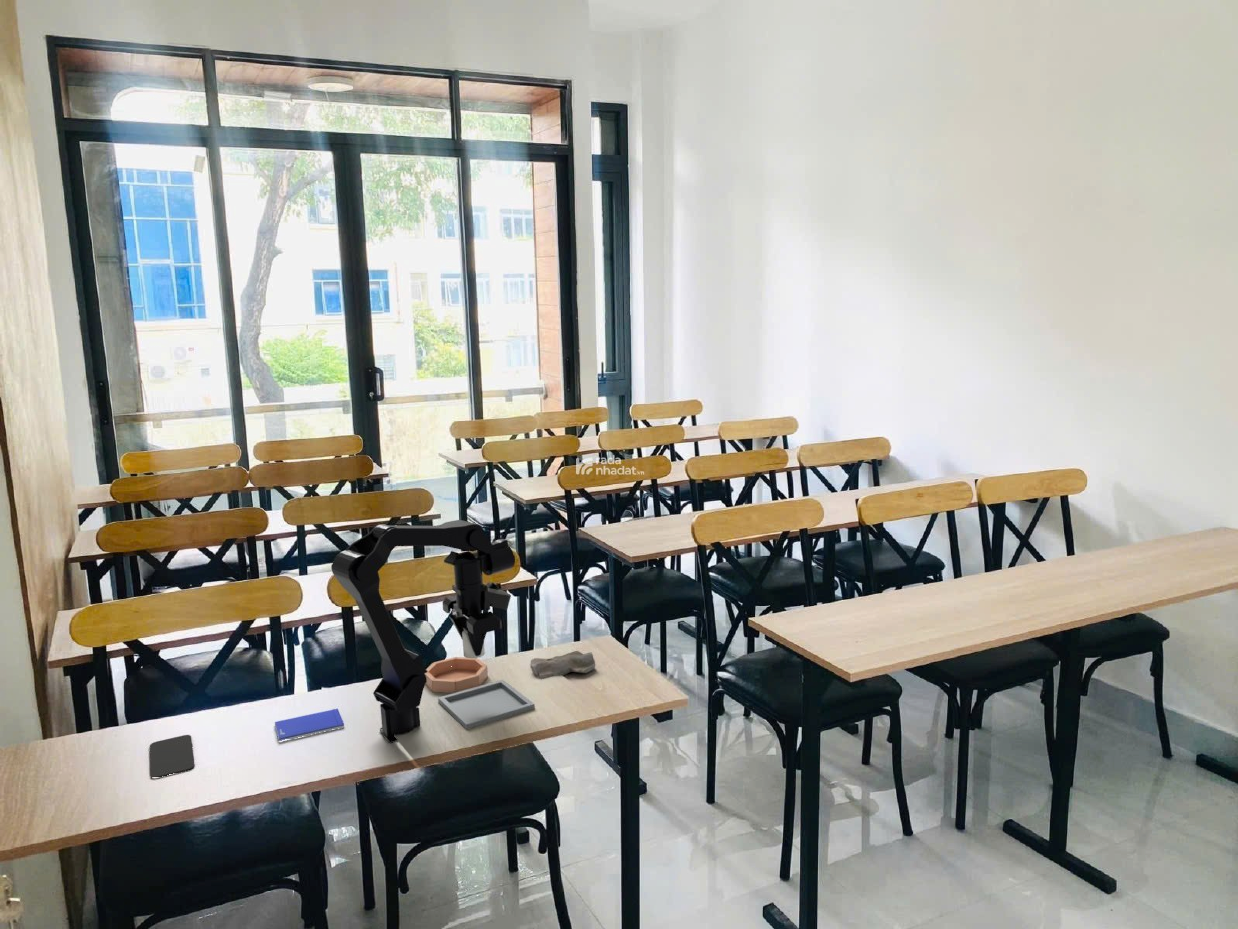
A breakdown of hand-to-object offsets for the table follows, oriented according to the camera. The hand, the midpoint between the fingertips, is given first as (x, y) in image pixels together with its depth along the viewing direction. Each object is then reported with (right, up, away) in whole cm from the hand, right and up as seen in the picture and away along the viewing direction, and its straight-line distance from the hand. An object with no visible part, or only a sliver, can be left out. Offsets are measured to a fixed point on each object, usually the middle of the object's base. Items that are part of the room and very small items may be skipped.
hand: (473, 652), depth 184 cm
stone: (+18, -8, +16) cm, 25 cm away
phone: (-55, -17, -17) cm, 60 cm away
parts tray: (+3, -12, -2) cm, 12 cm away
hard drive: (-32, -14, -7) cm, 36 cm away
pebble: (0, -1, 0) cm, 1 cm away
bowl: (-6, -9, +11) cm, 16 cm away
